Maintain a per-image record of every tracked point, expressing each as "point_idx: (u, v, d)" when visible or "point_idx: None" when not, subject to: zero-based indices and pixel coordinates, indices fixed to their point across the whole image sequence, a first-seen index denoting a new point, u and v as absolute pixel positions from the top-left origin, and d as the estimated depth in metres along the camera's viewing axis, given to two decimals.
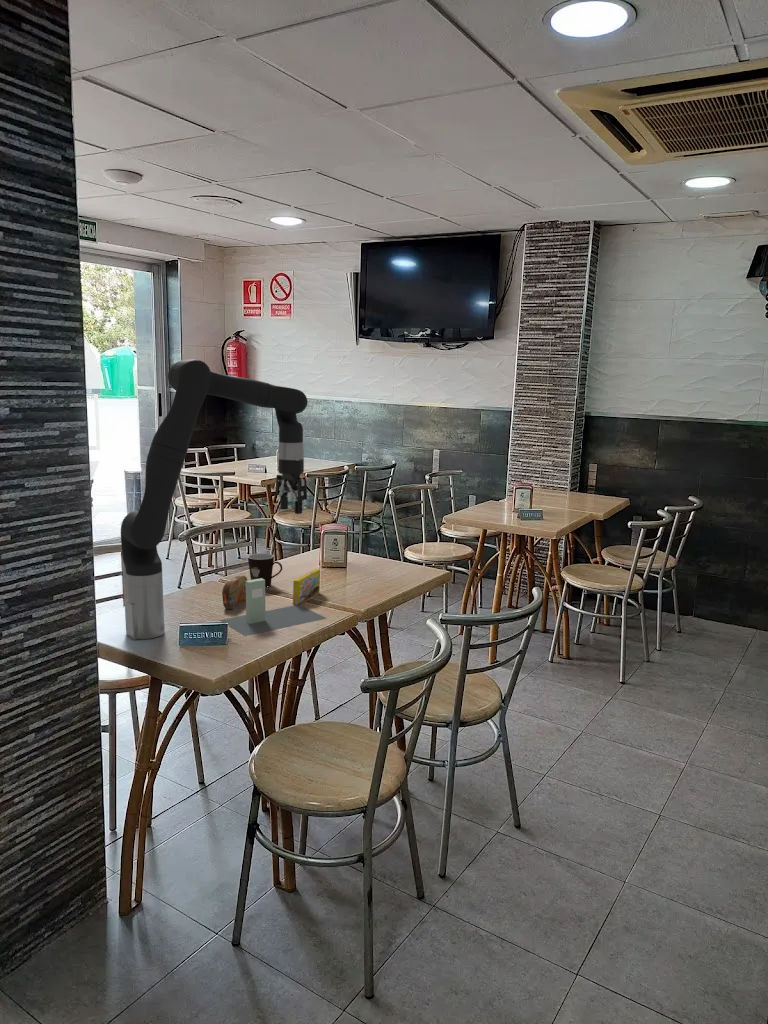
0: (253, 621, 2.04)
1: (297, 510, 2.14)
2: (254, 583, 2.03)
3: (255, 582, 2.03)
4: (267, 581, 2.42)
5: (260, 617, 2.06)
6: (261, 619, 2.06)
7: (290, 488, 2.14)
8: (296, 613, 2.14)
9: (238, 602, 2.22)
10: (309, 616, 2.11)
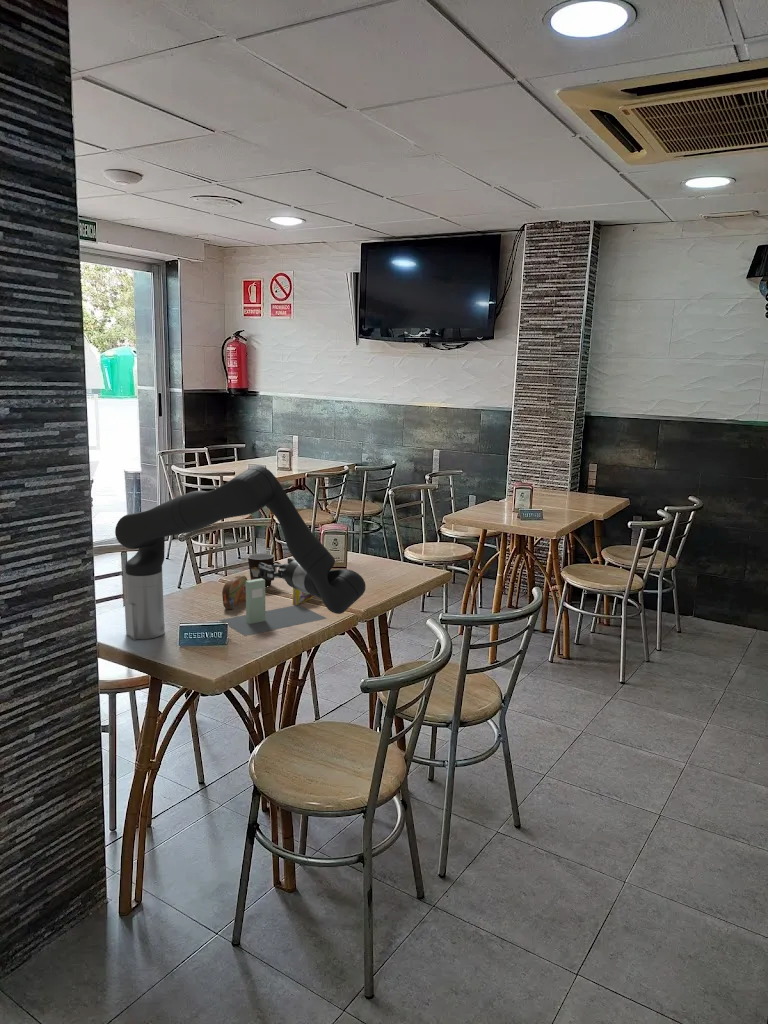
0: (253, 621, 2.04)
1: (259, 565, 1.90)
2: (254, 583, 2.03)
3: (255, 582, 2.03)
4: (267, 581, 2.42)
5: (260, 617, 2.06)
6: (261, 619, 2.06)
7: (279, 564, 1.87)
8: (296, 613, 2.14)
9: (238, 602, 2.22)
10: (309, 616, 2.11)
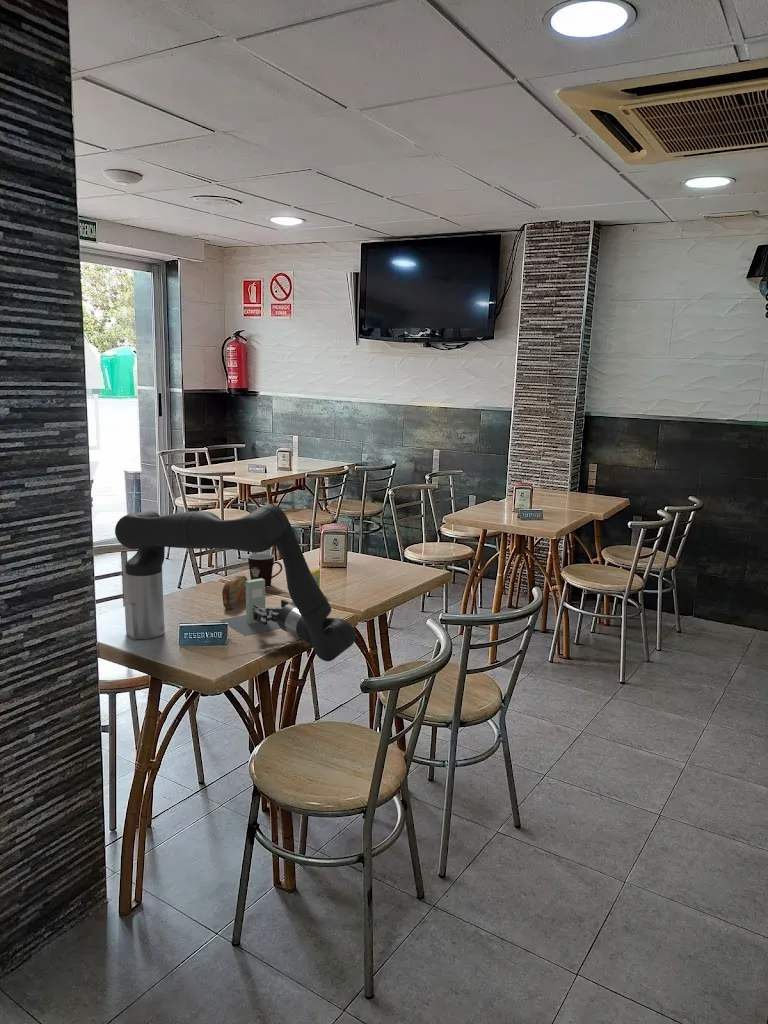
0: (253, 621, 2.04)
1: (253, 607, 1.95)
2: (254, 583, 2.03)
3: (255, 582, 2.03)
4: (267, 581, 2.42)
5: None
6: None
7: (273, 608, 1.91)
8: None
9: (238, 602, 2.22)
10: None
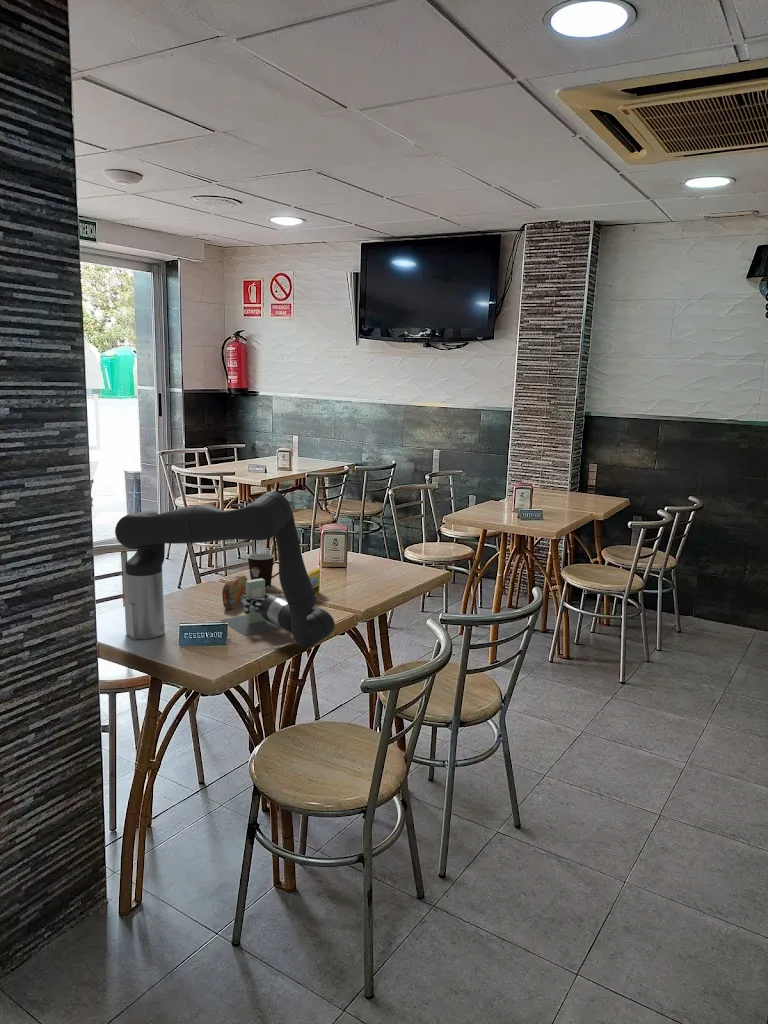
0: (253, 621, 2.04)
1: (241, 597, 2.04)
2: (254, 583, 2.03)
3: (255, 582, 2.03)
4: (267, 581, 2.42)
5: (260, 617, 2.06)
6: (261, 619, 2.06)
7: (257, 598, 1.99)
8: None
9: (238, 602, 2.22)
10: None
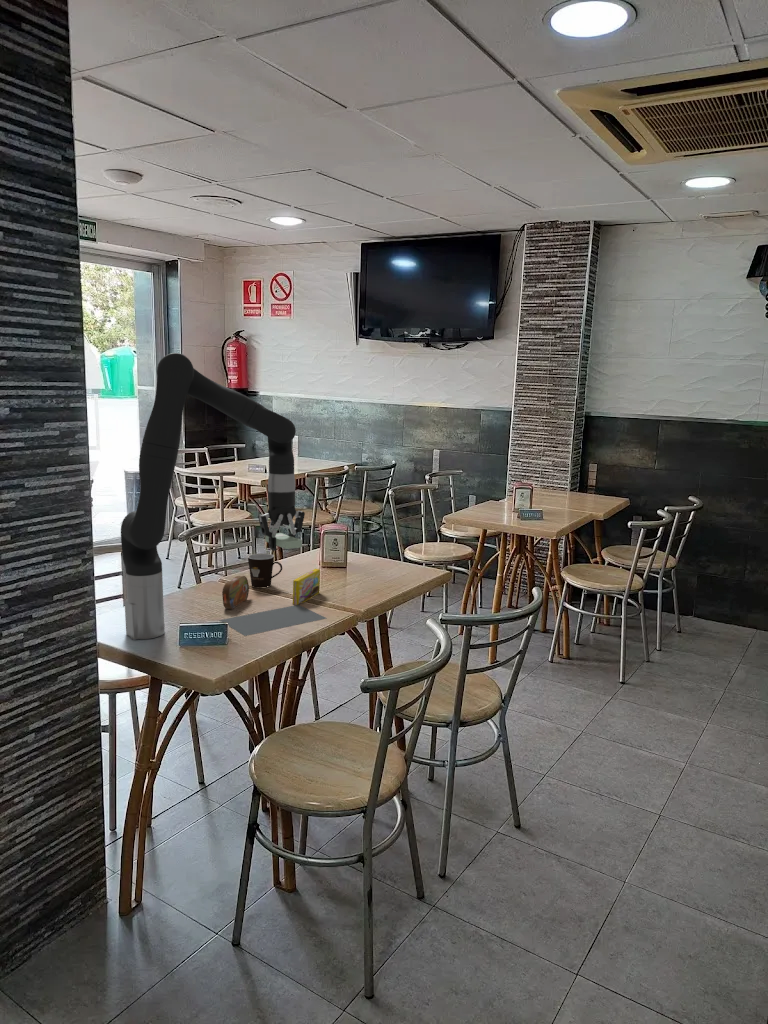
0: (288, 541, 2.00)
1: None
2: None
3: None
4: (267, 581, 2.42)
5: (294, 539, 2.02)
6: (296, 540, 2.02)
7: None
8: (296, 613, 2.14)
9: (238, 602, 2.22)
10: (309, 616, 2.11)
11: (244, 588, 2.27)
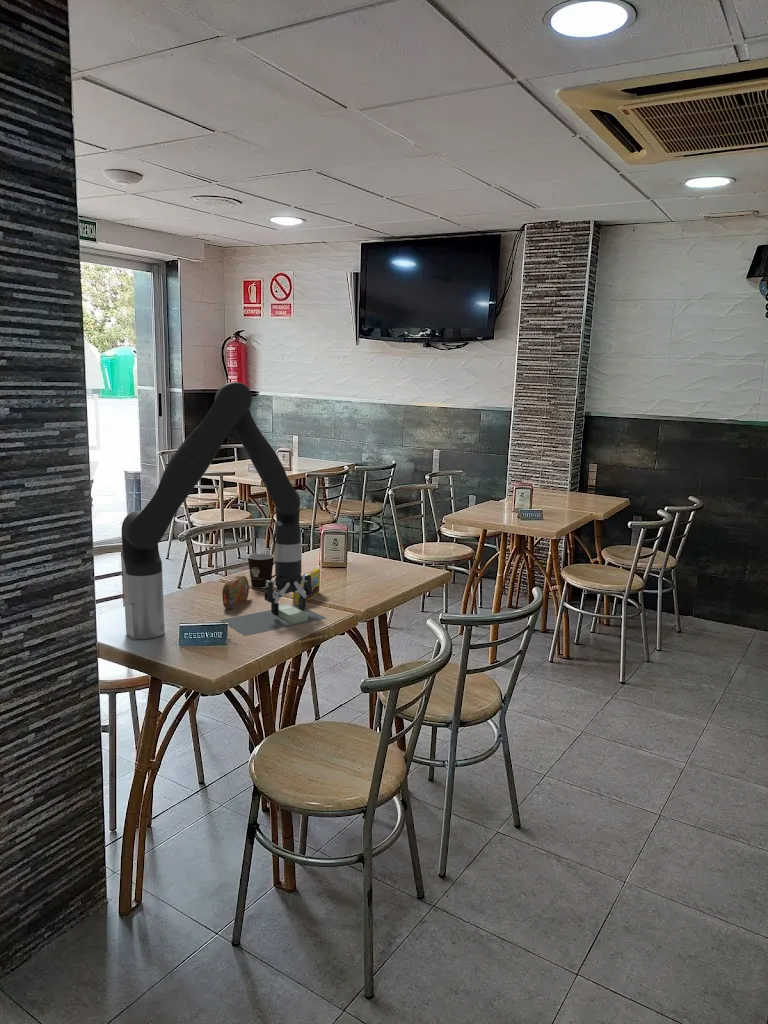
0: (295, 615, 2.05)
1: None
2: None
3: (279, 605, 2.15)
4: None
5: (300, 613, 2.07)
6: (302, 614, 2.07)
7: None
8: None
9: (238, 602, 2.22)
10: (309, 616, 2.11)
11: (244, 588, 2.27)
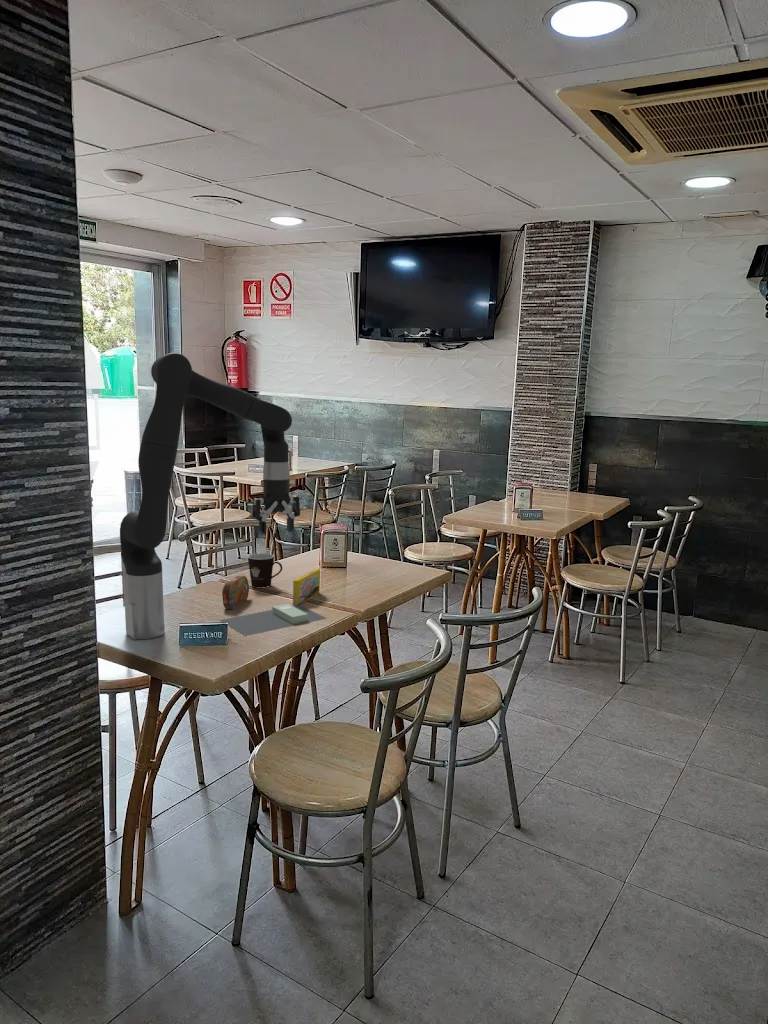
0: (295, 615, 2.05)
1: None
2: (278, 605, 2.14)
3: (279, 605, 2.15)
4: (267, 581, 2.42)
5: (300, 613, 2.07)
6: (302, 614, 2.07)
7: None
8: None
9: (238, 602, 2.22)
10: (309, 616, 2.11)
11: (244, 588, 2.27)
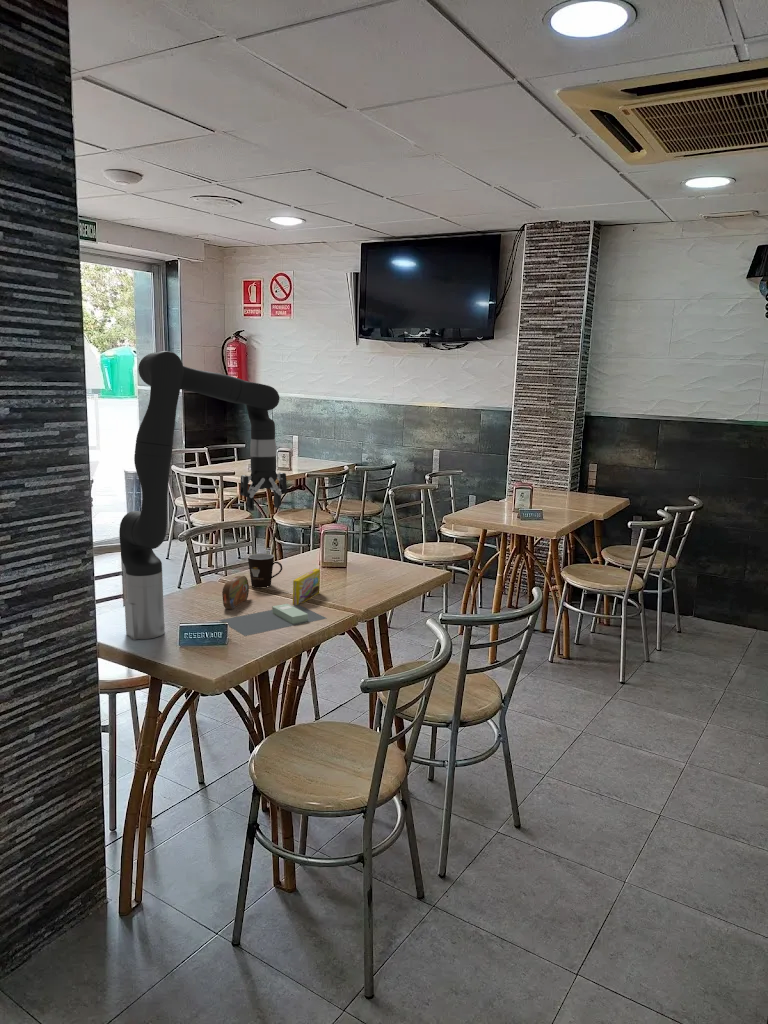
0: (295, 615, 2.05)
1: None
2: (278, 605, 2.14)
3: (279, 605, 2.15)
4: (267, 581, 2.42)
5: (300, 613, 2.07)
6: (302, 614, 2.07)
7: None
8: None
9: (238, 602, 2.22)
10: (309, 616, 2.11)
11: (244, 588, 2.27)
